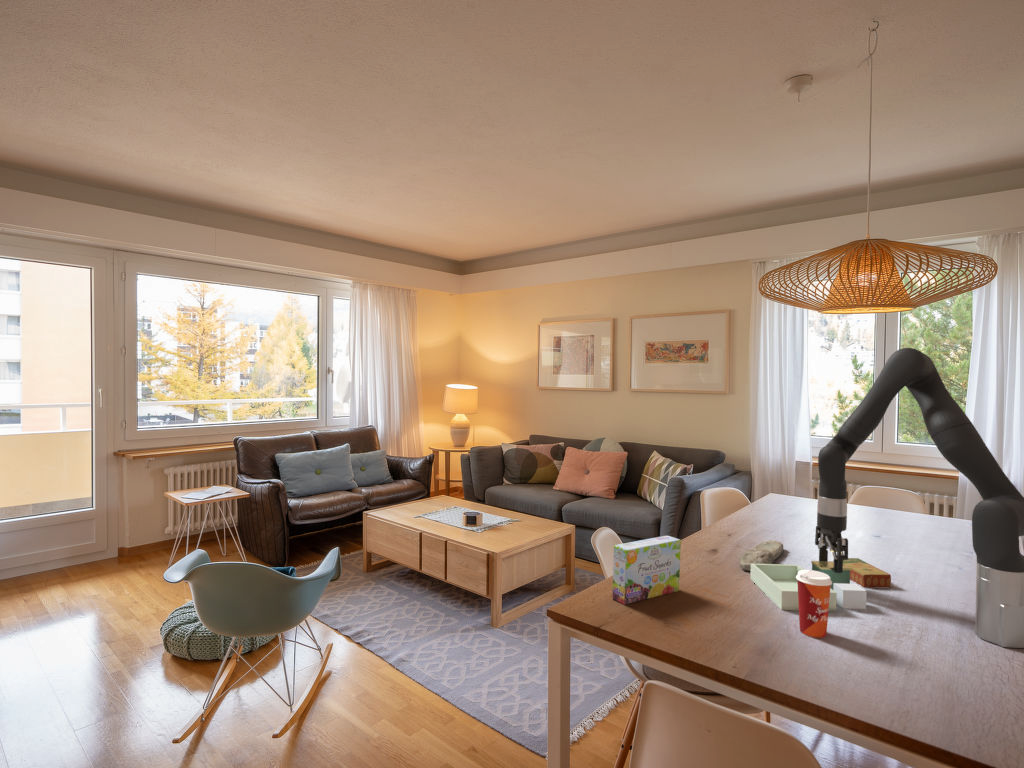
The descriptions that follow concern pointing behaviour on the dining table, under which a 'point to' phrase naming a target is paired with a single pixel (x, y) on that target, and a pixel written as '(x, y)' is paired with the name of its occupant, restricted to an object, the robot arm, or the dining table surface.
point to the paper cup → (813, 602)
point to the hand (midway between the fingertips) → (830, 567)
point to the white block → (850, 596)
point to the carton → (867, 574)
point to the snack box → (646, 569)
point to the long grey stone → (761, 554)
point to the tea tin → (828, 569)
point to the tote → (782, 584)
